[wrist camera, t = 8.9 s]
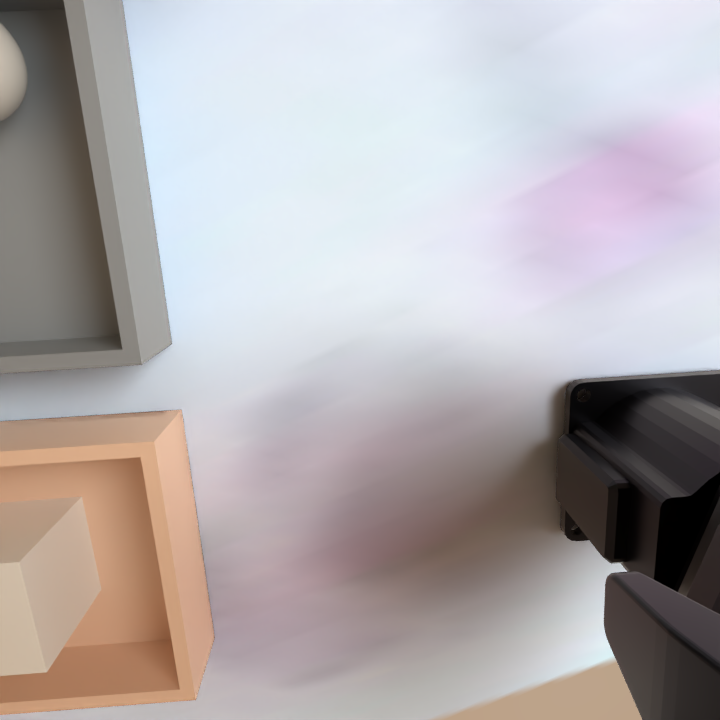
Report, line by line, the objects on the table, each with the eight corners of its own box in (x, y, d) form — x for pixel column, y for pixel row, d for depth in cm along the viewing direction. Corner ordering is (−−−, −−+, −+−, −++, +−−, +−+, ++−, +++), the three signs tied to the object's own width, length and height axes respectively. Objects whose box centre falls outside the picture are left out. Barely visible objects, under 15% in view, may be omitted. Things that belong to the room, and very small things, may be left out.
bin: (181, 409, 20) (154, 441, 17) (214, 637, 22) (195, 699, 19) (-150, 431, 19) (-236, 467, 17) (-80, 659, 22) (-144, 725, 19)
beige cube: (81, 496, 20) (19, 562, 16) (101, 589, 21) (46, 672, 17) (-28, 504, 20) (-117, 572, 16) (-3, 597, 21) (-81, 682, 17)
